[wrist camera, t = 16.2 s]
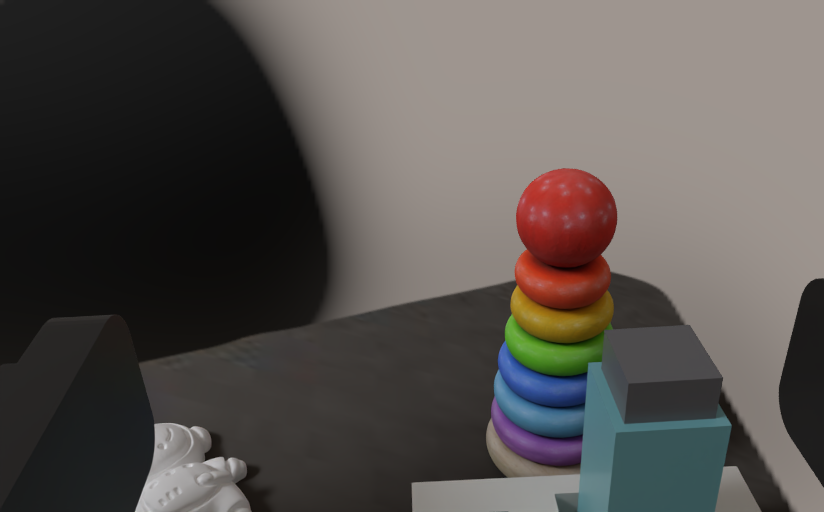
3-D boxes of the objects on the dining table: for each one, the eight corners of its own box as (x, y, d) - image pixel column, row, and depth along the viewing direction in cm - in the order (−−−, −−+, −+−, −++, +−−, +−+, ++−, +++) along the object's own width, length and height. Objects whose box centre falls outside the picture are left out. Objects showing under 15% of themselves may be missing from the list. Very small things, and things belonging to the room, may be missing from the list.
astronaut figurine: (129, 607, 39) (115, 567, 38) (76, 471, 48) (63, 434, 46) (283, 528, 43) (276, 489, 42) (208, 416, 52) (200, 380, 51)
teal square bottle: (595, 630, 35) (619, 391, 28) (574, 551, 39) (591, 324, 32) (692, 624, 35) (739, 384, 28) (661, 545, 39) (696, 318, 32)
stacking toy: (460, 458, 47) (452, 177, 38) (534, 393, 52) (542, 132, 43) (571, 523, 42) (592, 218, 33) (640, 444, 47) (675, 161, 38)
